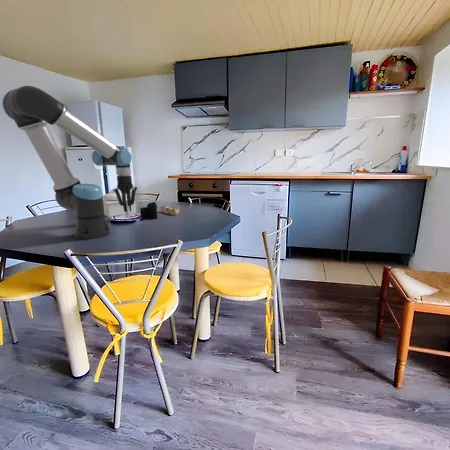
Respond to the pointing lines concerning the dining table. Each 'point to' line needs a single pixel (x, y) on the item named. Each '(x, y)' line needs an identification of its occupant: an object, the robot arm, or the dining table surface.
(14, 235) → the dining table surface
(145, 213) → the film camera
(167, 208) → the oak ledge rail
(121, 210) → the white lidded box
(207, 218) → the dining table surface
